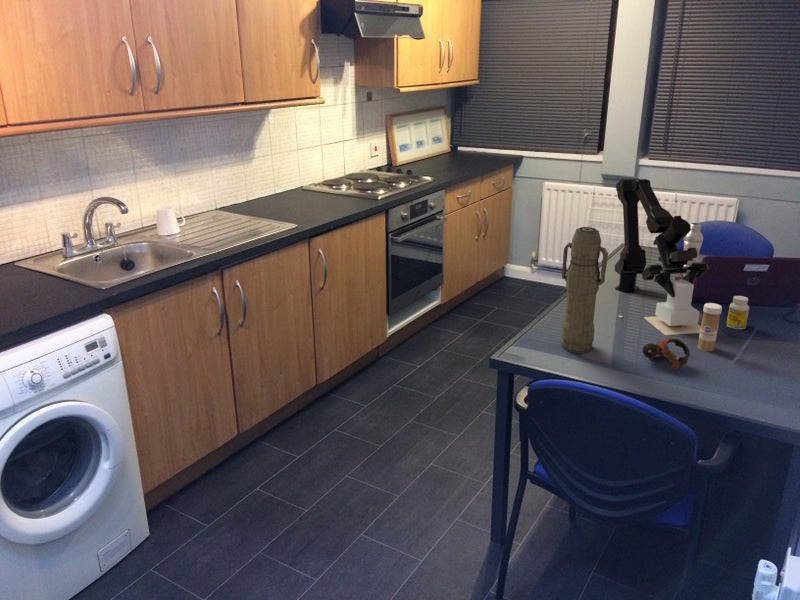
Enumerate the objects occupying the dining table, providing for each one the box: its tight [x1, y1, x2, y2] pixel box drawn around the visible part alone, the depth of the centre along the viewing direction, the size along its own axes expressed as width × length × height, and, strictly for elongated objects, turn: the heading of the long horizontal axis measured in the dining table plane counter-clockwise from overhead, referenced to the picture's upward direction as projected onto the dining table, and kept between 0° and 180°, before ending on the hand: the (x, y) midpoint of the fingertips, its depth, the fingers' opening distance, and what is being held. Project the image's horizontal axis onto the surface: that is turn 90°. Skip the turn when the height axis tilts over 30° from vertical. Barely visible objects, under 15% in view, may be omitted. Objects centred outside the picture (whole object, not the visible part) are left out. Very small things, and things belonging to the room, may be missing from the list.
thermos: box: [561, 226, 609, 354], centre depth 181 cm, size 9×12×35 cm
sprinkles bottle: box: [696, 302, 723, 352], centre depth 181 cm, size 5×5×14 cm
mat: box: [643, 315, 701, 336], centre depth 199 cm, size 14×14×1 cm
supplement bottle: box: [726, 295, 750, 330], centre depth 196 cm, size 5×5×10 cm
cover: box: [654, 279, 701, 326], centre depth 197 cm, size 9×9×12 cm
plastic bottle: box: [680, 222, 704, 276], centre depth 240 cm, size 6×7×20 cm
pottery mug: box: [642, 337, 691, 372], centre depth 175 cm, size 12×10×8 cm
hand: (682, 296), depth 195 cm, fingers closed on cover, 5 cm apart
